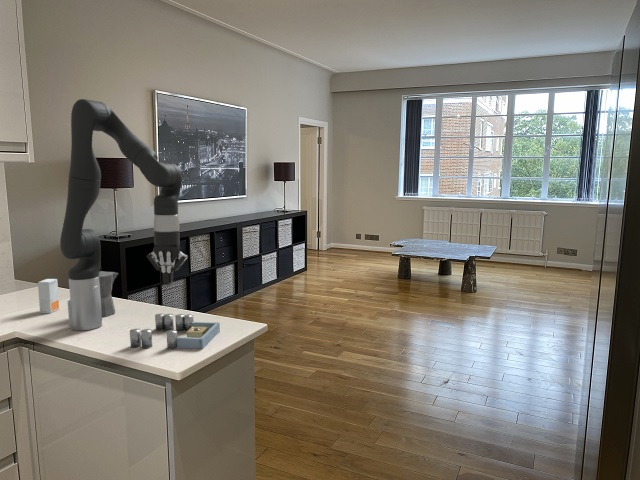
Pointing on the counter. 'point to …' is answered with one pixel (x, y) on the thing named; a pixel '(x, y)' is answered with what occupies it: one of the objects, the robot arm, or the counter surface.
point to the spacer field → (162, 324)
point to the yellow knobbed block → (196, 332)
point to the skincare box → (48, 295)
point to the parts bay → (204, 340)
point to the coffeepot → (106, 292)
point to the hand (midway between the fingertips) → (168, 284)
